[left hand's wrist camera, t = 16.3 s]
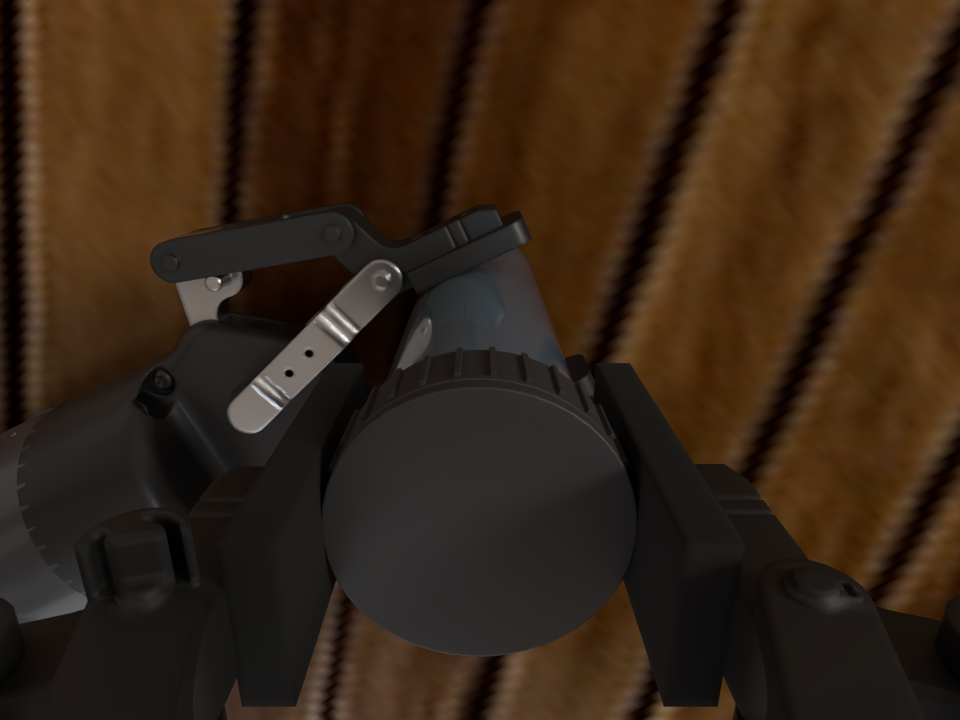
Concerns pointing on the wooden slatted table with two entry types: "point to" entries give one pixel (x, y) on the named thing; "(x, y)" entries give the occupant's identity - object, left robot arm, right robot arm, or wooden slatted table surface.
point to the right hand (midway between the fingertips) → (556, 301)
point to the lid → (479, 505)
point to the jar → (482, 316)
